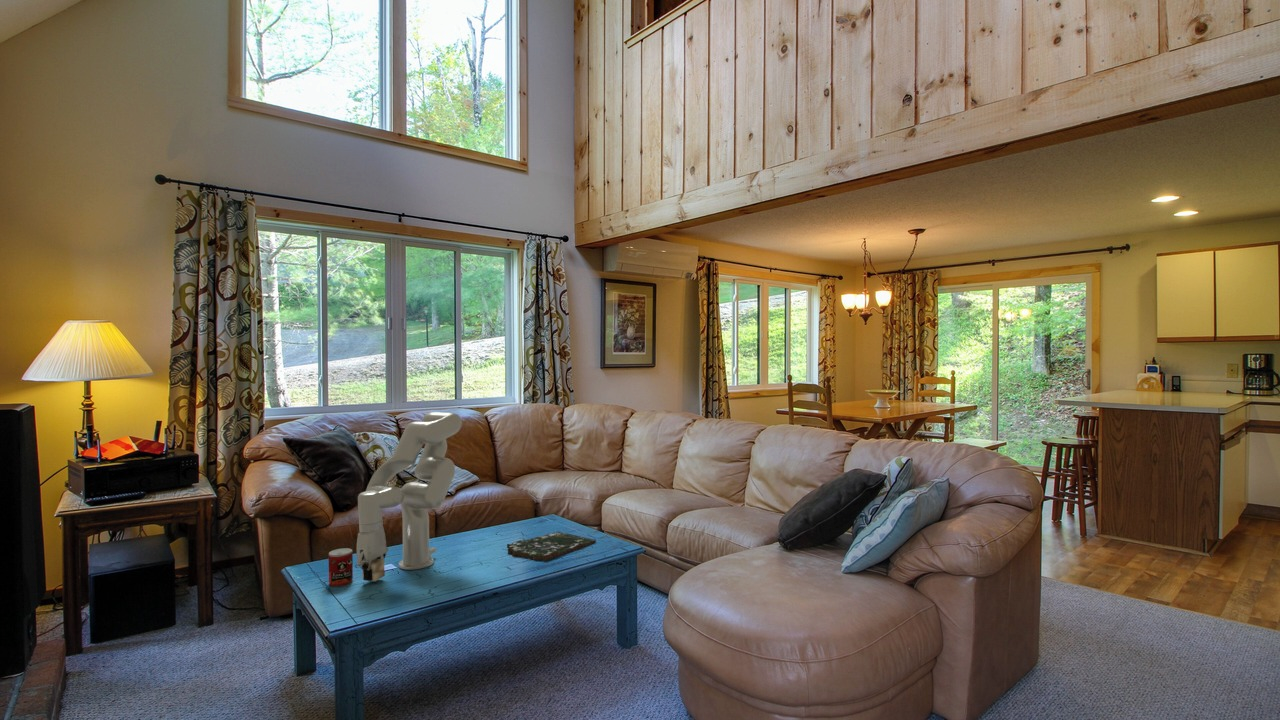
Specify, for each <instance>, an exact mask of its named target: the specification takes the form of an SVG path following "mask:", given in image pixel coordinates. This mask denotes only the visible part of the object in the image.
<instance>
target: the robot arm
mask: <svg viewBox="0 0 1280 720" xmlns="http://www.w3.org/2000/svg"><path fill="white" fill-rule="evenodd" d="M462 423H463V421H462V418H461V416H460V414H457V413H455V412H445V411H444V412H442V411H441V412H439V411H431V412H427V413H426V414H425V415H423V417H422V421H411V422H409V423H408V424H407V425H406V427H405V429H404V431H403V433H402V435H401V437H400V438H399V441H398V443H397V446H396V448H395V450H394V452H393V454H392V455H391V457H390V458H388V459H387V460H386V461H385V462H384V463H383V464H381V466H379V467H378V468H377V469H376V470H375V471H374V473H373V474H372V476H371V478H370V480H369V482H368V484H367V487H366V489H365V491H362V492H360V493H358V496H357V510H358V527H359V529H358V530H359V532H358V533H357V539H356V566H357V567H359V568H361V570H362V575H363V574H364V580H363V581H366V582H372V581H371V580H372V569H370V568H371V561H372V560H374V559H384V562H385V558H386V556H387V553H388V552H389V548H388V547H387V539H386V534H385V529H384V526H383V525H384V524H383V521H384V520H383V510H385V509H392V508H396V507H397V506H400V507H401V513H402V515H401V516H402V560H400V561H399V562H398V568H399V569H402V570H408V571H412V570H420V569H424V568H428V567H431V566H432V565H433V564H434V561H435V559H434V558H433V557H432V556H431V555H432V554H434V553H436V551H437V549H436V548H435V547H432V548H430V516H429V512H428V510H435V509H438V508H439V507H440V506H441V505H442V504H443V502H444V500H445V498H446V497H447V494H448V492H449V489H450V487H451V485H452V482H453V480H454V476H455V472H456V466H455V463H454V462H453V460H452V459H451V458H448V457H446V453H447V451H448V443H447V439H448V438H450V437H453V436H454V435H456V434H457V433H459V432H460V430H461V427H462V425H463V424H462ZM423 446H424V448H423V450H422V447H423ZM421 450H422V452H421ZM420 453H421V454H420ZM419 454H420V456H419ZM418 457H419V459H418ZM417 459H418V461H417ZM416 461H417V464H416ZM415 464H416V466H415V468H414V476H415V478H417V479H418V480H421V481H423V482H421V481H411V482H407V483H405V484H404V485H403V486H401V488H400V487H398V486H394V485H388V483H389V481H390V480H391V479H392V478H393V477H394V476H395V475H397V474H398V473H400V472H403V471H405V470H407V469H409V468H411V467H413V466H414V465H415ZM424 481H425V482H424ZM366 562H368V564H367V565H366Z"/></svg>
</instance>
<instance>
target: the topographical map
mask: <svg viewBox="0 0 1280 720" xmlns="http://www.w3.org/2000/svg"><path fill="white" fill-rule="evenodd" d="M595 543H597V541H596V539H593V538H589V537H584V536H580V535H575V534H571V533H566V532H561V531H555V532H552V533H547V534H544V535H539V536H536V537H532V538H528V539H521V540H517V541H515V542H511V543H508V544H506V548H507V555H512V557H513V558H522V559H523V558H524V559H528V560H533V561H539V562H544V563H545V562H547V561H551V560H553V559H556V558H558V557H561V556H565V555H566V554H569V553H571V552H572V553H573V552H575V551H577V550H580V549H582V548H584V547H587V546H591V545H592V544H595Z"/></svg>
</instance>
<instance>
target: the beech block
mask: <svg viewBox="0 0 1280 720" xmlns="http://www.w3.org/2000/svg"><path fill="white" fill-rule="evenodd" d="M384 560H385V558H384V559H374V560H372V561H371V568H370V569H372V580H371V581H370V582H377V581H378V580H380V579H382V578H384V577H385V575H386V574H385V572H386V571H385V561H384ZM367 564H368V562H366V565H367ZM362 580H363V581H365V580H364V574H363V573H362Z"/></svg>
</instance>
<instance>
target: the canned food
mask: <svg viewBox="0 0 1280 720" xmlns="http://www.w3.org/2000/svg"><path fill="white" fill-rule="evenodd" d="M353 553H354V552H353V549H352V548H348V547H347V548H345V547H344V548H337V549H333V550H331V551H329V552H328V583H329V586H332V587H342V586H346V585H349V584H351V583H352V582H353V579H354V576H353V575H354V572H353V571H354V570H353V569H354V564H353V563H354V562H353V560H354V556H353V555H354V554H353Z"/></svg>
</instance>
